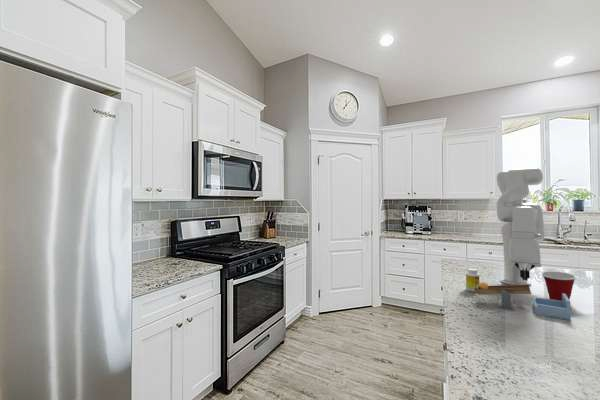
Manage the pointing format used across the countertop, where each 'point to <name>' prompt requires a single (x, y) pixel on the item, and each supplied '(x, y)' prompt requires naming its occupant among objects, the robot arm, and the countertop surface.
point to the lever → (497, 289)
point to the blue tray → (553, 307)
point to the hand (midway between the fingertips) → (524, 279)
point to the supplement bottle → (472, 280)
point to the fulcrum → (506, 301)
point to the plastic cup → (558, 284)
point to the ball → (483, 285)
